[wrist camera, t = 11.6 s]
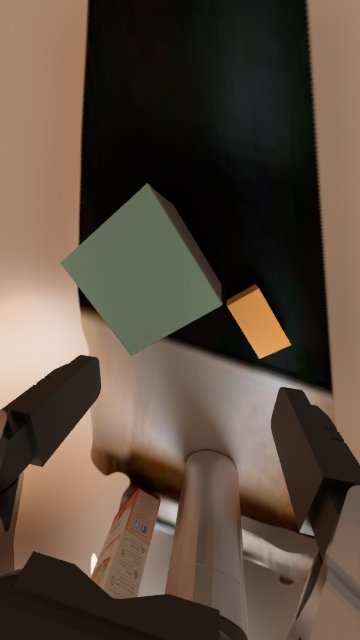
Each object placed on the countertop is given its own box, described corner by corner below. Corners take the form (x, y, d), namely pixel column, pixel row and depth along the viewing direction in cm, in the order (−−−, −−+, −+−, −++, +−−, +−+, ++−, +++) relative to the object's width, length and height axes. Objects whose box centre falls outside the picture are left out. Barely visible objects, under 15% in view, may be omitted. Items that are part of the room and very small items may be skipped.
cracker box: (137, 485, 44) (71, 675, 25) (162, 499, 44) (116, 700, 25) (113, 514, 49) (44, 690, 30) (135, 527, 49) (81, 710, 30)
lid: (222, 302, 19) (222, 304, 19) (134, 351, 23) (131, 355, 22) (150, 185, 17) (147, 183, 16) (66, 262, 21) (60, 263, 20)
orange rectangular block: (284, 334, 28) (291, 344, 25) (255, 347, 29) (259, 358, 26) (254, 283, 26) (259, 288, 24) (226, 299, 28) (227, 306, 25)
